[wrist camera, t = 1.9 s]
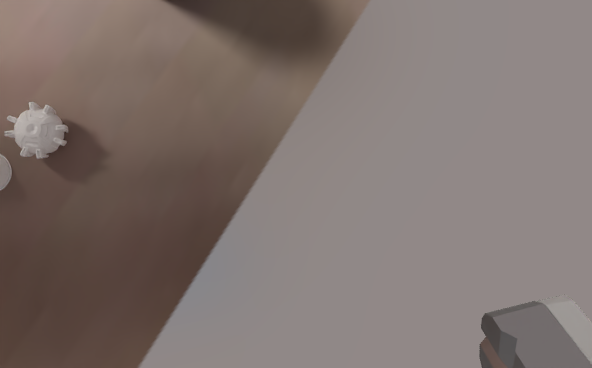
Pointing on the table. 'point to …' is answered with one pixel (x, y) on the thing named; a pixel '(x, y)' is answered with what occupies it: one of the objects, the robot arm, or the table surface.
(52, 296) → the table surface
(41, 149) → the game pieces
